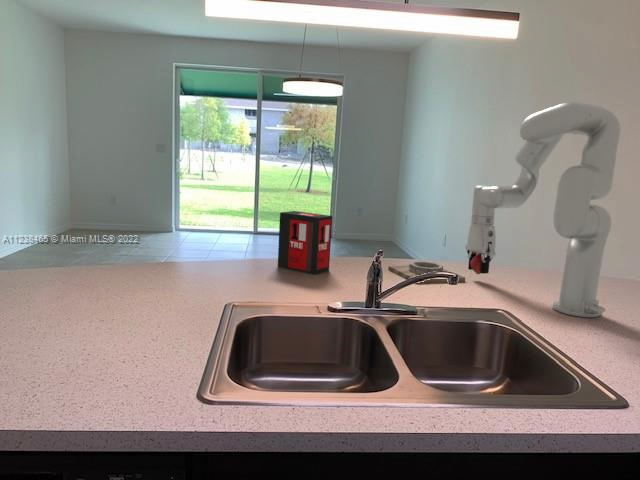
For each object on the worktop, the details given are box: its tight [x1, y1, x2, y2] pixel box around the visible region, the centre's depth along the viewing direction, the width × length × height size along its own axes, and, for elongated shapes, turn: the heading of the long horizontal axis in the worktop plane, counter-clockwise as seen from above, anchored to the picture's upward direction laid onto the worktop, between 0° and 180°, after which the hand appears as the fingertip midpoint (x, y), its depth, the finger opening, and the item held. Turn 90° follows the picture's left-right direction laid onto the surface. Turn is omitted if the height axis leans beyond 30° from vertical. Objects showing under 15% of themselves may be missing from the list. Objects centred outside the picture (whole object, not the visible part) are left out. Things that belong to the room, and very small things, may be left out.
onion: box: [470, 253, 482, 275], centre depth 178 cm, size 6×6×8 cm
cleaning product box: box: [277, 210, 333, 276], centre depth 181 cm, size 16×9×20 cm, turn 58°
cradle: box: [387, 260, 466, 284], centre depth 183 cm, size 20×20×4 cm
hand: (478, 270), depth 179 cm, fingers closed on onion, 5 cm apart
